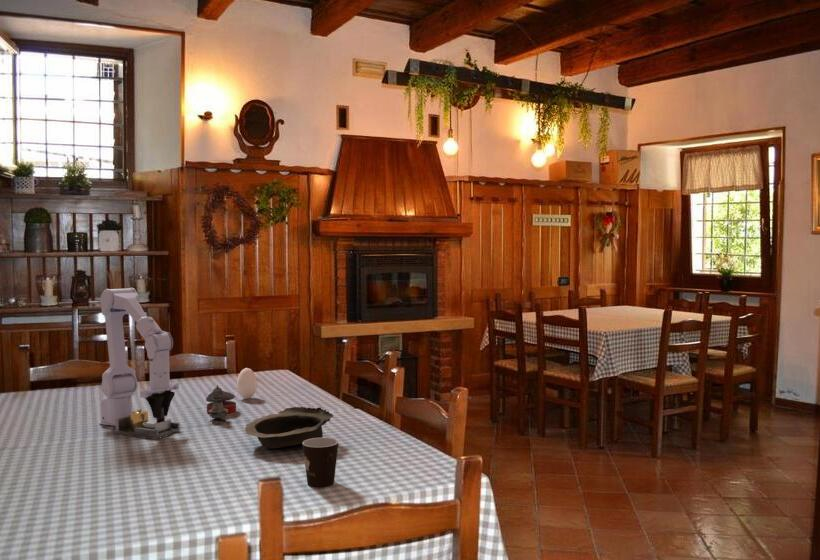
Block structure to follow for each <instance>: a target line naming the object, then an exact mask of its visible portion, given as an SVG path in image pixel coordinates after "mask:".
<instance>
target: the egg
mask: <svg viewBox="0 0 820 560" xmlns="http://www.w3.org/2000/svg"><path fill="white" fill-rule="evenodd" d="M257 389H258V381H257V377H256V374H255V373H254V370H252V369H251V368H248V367H245V368H243V369H242V370H241V371H240V373H239V374H238V377H237V380H236V390H237V392H238V394H239V396H241V398H242V399H245V400H249V399H251V398H253V396H254V395H255V394H256V392H257Z"/></svg>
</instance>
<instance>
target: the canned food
mask: <svg viewBox="0 0 820 560" xmlns="http://www.w3.org/2000/svg"><path fill="white" fill-rule="evenodd" d="M222 398H223V400H222V405H223V408H224V409H227V411H226V414H225V416H228V415H227V414H229V415H233V414H235V413H236V412H237V402H235V401H232V400H234V399H235V398H236V396H235V395H234V393H231V392H228V391H225V390H222ZM212 399H213V391H212V392H210V394H208V396H207V397H206V398H205V401H206V402H209V403H207V404H206V414H207V415H209V414H210V412H209V410H211V409H212V408H213V400H212ZM232 413H233V414H232Z"/></svg>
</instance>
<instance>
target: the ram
mask: <svg viewBox="0 0 820 560" xmlns="http://www.w3.org/2000/svg"><path fill="white" fill-rule="evenodd" d="M165 417H166V416H165V407H164V406H161V417H160V418H155V419H152V420H148V422H146V423H145V428H147V429H155V430H159V432H161V431H163V430H166V429H169V428H171V422H172V418H168V417H166V418H165Z"/></svg>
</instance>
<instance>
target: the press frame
mask: <svg viewBox="0 0 820 560" xmlns="http://www.w3.org/2000/svg"><path fill="white" fill-rule="evenodd" d="M115 421H116V426H115V430H113V431H114V434H115V435H120V434H121V435H120V436H128V435H130V436H129V437H136V436H138V438H144V437H147V438H146V439H152V438H154V439H153V440H158V438H159V439H161V438H164V437H166V435H167V436H170V435H172V433H173V434H175V432H176V433H178V431H179V432H180V431H181V430H180V427H181V426H180V422H175V421H171V428H169V429H166V430H163V431H161V432H159V430H155V429H147V428H139V427H136V428H135V430H132V429H131V415H129V416H126V417H122V418H119V419H115ZM169 434H170V435H169ZM163 436H164V437H163ZM160 437H161V438H160Z"/></svg>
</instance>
